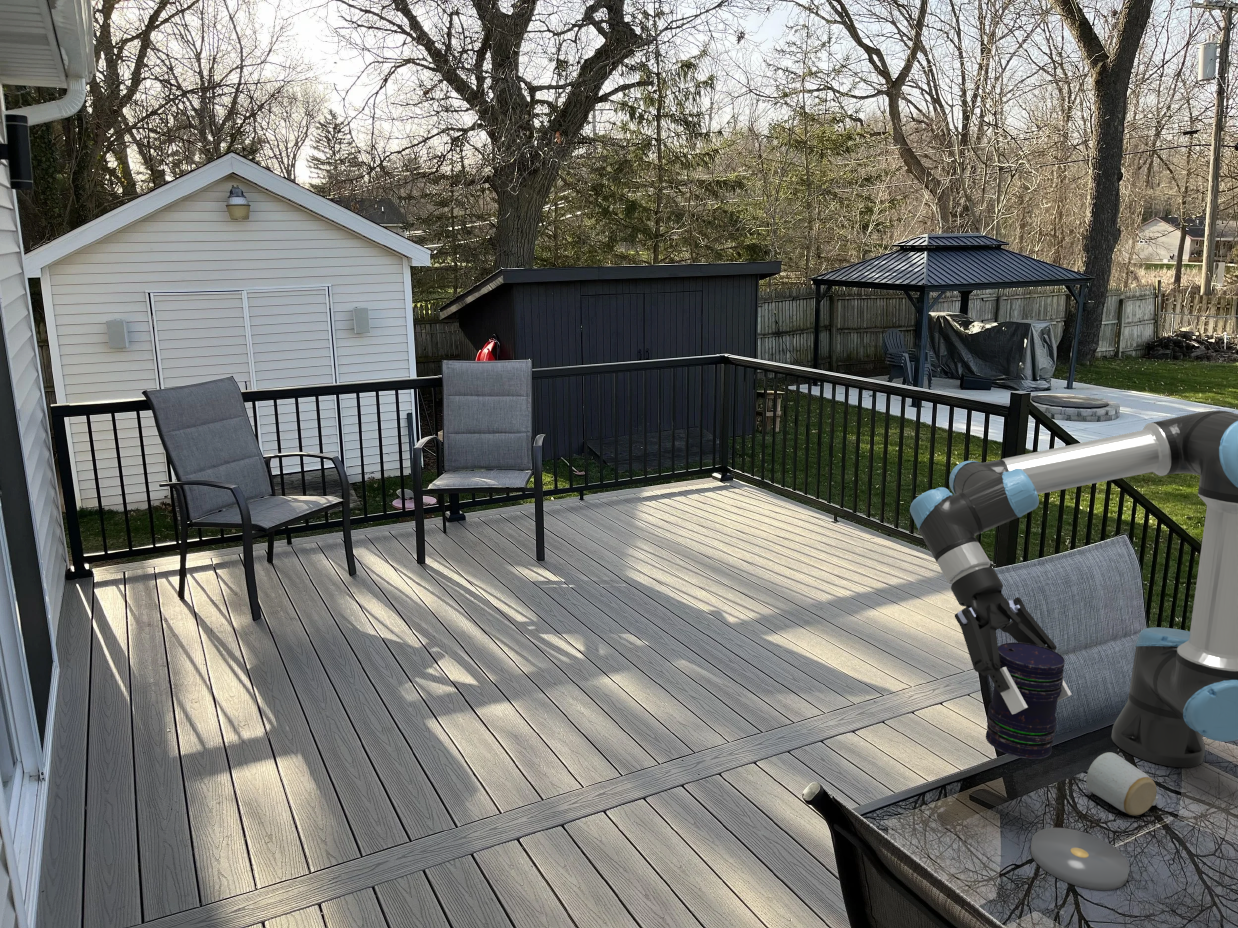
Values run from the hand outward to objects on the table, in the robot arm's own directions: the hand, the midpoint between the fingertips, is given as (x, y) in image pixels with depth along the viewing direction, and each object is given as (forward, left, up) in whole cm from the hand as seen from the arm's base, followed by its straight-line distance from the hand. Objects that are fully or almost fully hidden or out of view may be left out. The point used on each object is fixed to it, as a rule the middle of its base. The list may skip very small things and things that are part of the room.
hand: (1042, 704), depth 141 cm
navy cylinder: (+3, -2, -8) cm, 9 cm away
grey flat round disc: (-7, +6, -21) cm, 23 cm away
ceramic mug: (-15, -16, -21) cm, 30 cm away
